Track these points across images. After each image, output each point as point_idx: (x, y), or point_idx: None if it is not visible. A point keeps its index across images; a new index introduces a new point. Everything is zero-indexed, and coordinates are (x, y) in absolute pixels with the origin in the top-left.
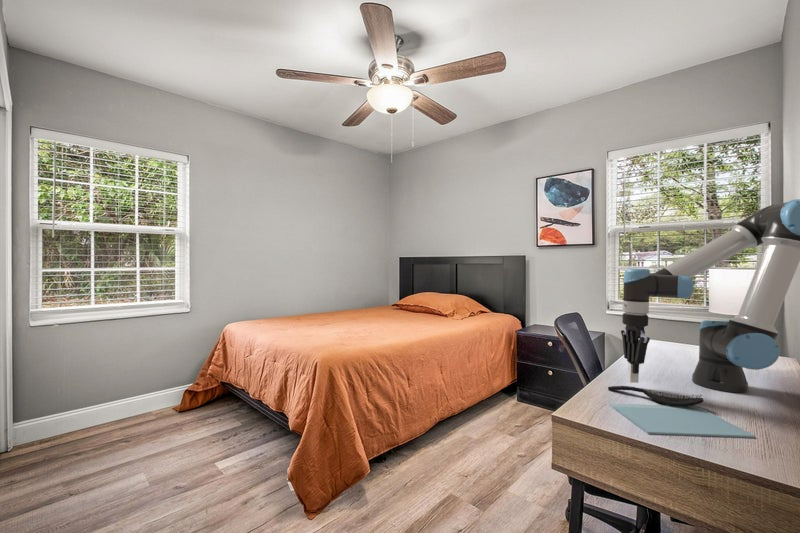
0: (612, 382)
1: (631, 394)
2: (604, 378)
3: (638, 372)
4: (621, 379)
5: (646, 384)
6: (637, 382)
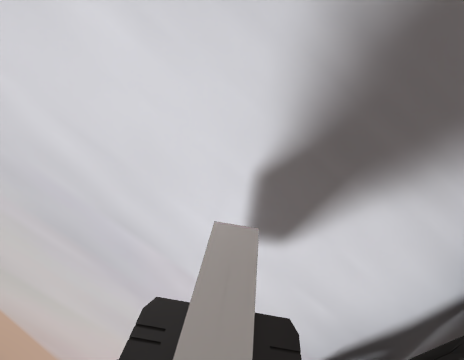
0: (113, 303)
1: (386, 354)
2: (15, 297)
3: (297, 337)
4: (18, 176)
5: (150, 30)
6: (257, 237)
